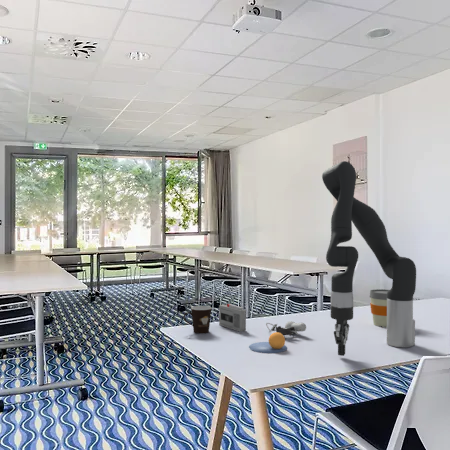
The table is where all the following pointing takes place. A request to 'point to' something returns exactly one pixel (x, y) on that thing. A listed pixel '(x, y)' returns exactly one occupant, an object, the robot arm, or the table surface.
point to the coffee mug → (200, 318)
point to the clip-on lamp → (289, 328)
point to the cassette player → (232, 317)
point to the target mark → (265, 348)
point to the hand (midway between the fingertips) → (341, 354)
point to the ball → (276, 340)
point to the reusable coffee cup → (379, 306)
